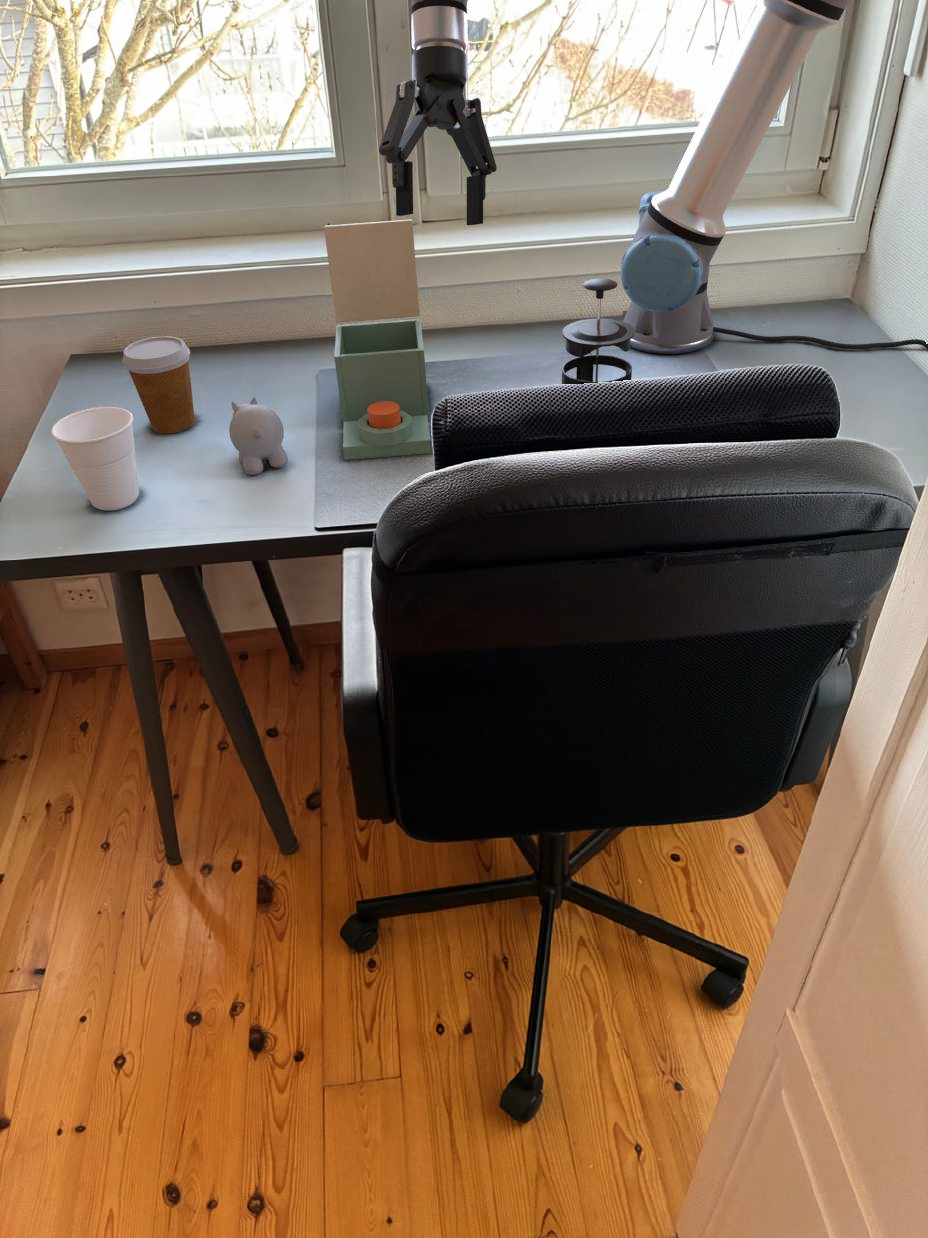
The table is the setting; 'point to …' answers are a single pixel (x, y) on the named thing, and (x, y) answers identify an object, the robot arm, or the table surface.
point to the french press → (596, 341)
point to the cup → (101, 454)
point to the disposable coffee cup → (162, 381)
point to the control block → (386, 438)
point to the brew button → (384, 415)
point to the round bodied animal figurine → (257, 436)
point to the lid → (372, 270)
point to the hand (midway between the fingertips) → (441, 219)
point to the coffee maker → (381, 367)
